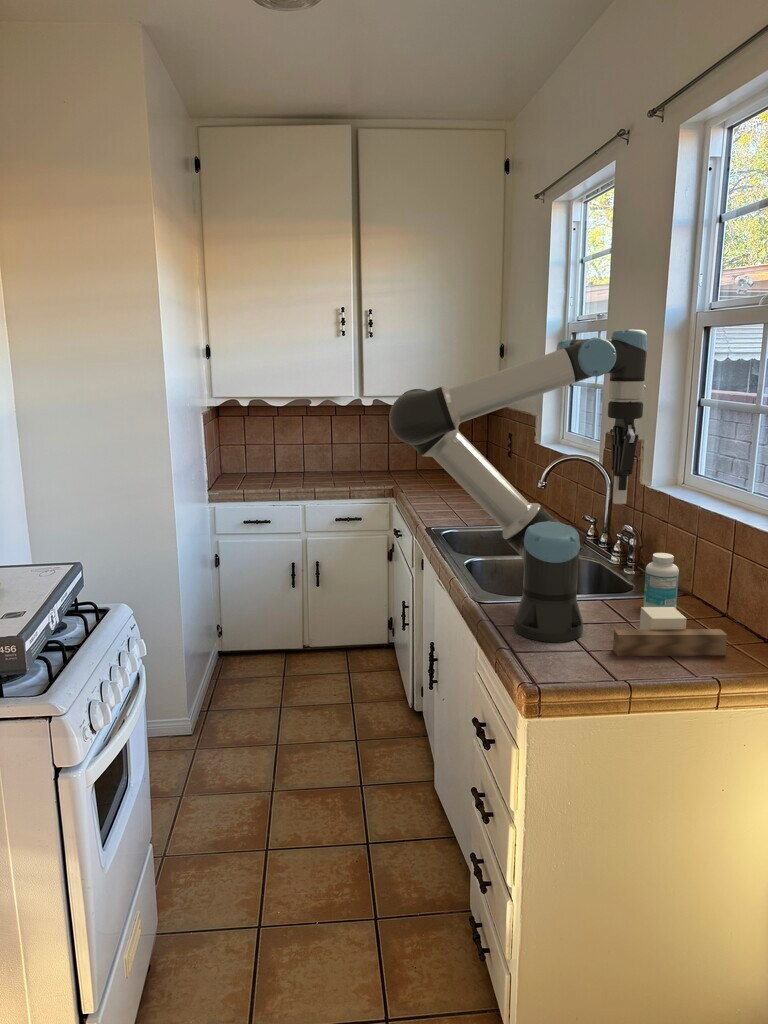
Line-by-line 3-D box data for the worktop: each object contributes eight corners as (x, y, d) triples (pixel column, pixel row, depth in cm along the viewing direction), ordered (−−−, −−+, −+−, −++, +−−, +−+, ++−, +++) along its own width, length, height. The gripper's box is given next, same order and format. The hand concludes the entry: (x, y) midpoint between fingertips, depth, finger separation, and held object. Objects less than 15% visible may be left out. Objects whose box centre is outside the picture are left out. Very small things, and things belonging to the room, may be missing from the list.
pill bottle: (649, 602, 181) (653, 549, 179) (680, 608, 177) (684, 554, 174) (638, 610, 176) (642, 555, 173) (669, 616, 171) (674, 561, 168)
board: (617, 655, 149) (618, 635, 148) (612, 650, 152) (614, 629, 151) (725, 655, 149) (727, 634, 148) (718, 649, 152) (720, 629, 151)
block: (650, 650, 152) (652, 618, 151) (638, 637, 159) (641, 607, 157) (683, 650, 152) (686, 618, 151) (671, 637, 159) (673, 607, 157)
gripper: (652, 402, 158) (645, 508, 163) (633, 398, 171) (626, 497, 176) (617, 402, 158) (611, 509, 163) (600, 398, 171) (595, 497, 176)
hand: (619, 503), depth 169 cm, fingers closed
